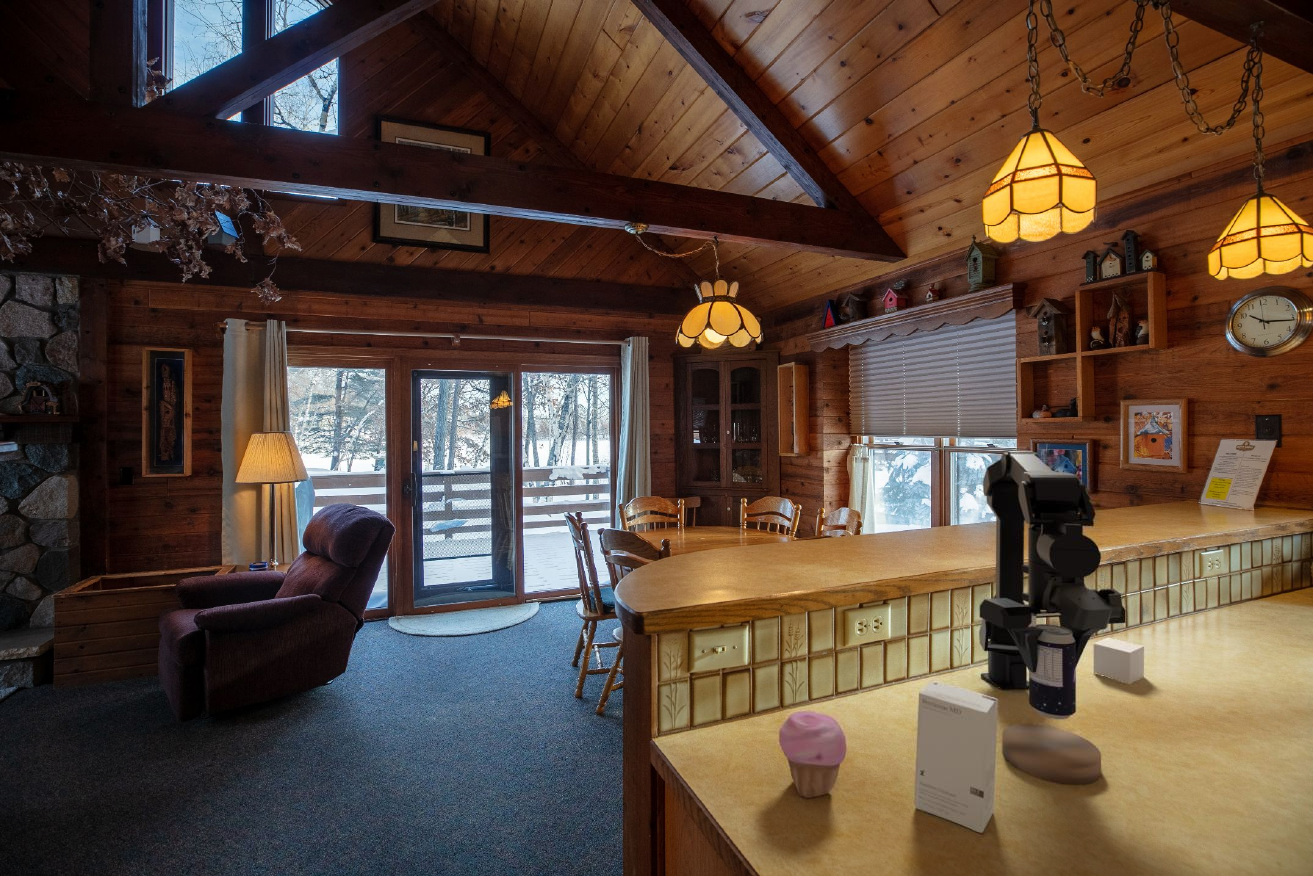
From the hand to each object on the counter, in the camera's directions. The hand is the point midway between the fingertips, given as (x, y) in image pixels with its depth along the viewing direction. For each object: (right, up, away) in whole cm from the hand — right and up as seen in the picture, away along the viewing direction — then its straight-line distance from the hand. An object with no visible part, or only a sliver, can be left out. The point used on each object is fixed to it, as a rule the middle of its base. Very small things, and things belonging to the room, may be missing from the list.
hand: (1051, 670), depth 90 cm
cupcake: (-36, -14, -6) cm, 39 cm away
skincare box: (-19, -14, -11) cm, 26 cm away
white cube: (+32, -12, +30) cm, 45 cm away
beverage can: (0, -6, 0) cm, 6 cm away
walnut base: (0, -13, 0) cm, 13 cm away
